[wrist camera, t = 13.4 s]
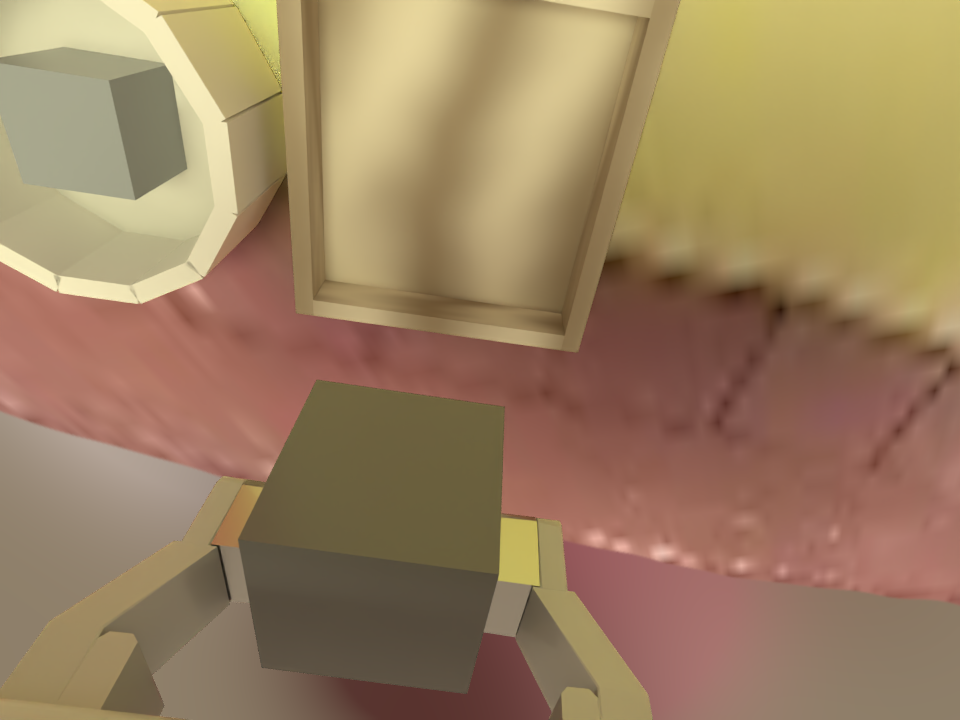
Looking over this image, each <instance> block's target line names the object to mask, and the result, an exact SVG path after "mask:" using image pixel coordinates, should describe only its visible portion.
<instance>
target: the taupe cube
mask: <svg viewBox="0 0 960 720" xmlns="http://www.w3.org/2000/svg"><path fill="white" fill-rule="evenodd" d="M0 116H1V118H2V121H3V124H4V127H5V130H6V133H7V136H8V139H9V142H10V145H11V148H12V151H13V154H14V157H15V160H16V163H17V166H18V169H19V172H20V175H21V178H22V181H23V184H29V185H36V186H43V187H50V188H56V189H63V190H70V191H76V192H83V193H90V194H96V195H103V196H110V197H117V198H123V199H130V200H137V199H139V198H140V197H142V196H143V195H145V194H147V193H148V192H150V191H152V190H153V189H155V188H157V187H158V186H160V185H162V184H163V183H165V182H167V181H168V180H170V179H171V178H173V177H175V176H176V175H178V174H180V173H181V172H183V171H185V170H186V169H187V164H186V157H185V151H184V145H183V139H182V133H181V126H180V120H179V114H178V108H177V102H176V95H175V89H174V83H173V77H172V75H171V73H170V72H169V70H168V69H167V67H166V66H165V64H164V63H161V62H155V61H149V60H142V59H136V58H130V57H124V56H118V55H111V54H105V53H99V52H93V51H86V50H80V49H74V48H68V47H60V48H54V49H48V50H42V51H36V52H30V53H24V54H18V55H11V56H5V57H0Z"/></svg>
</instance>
